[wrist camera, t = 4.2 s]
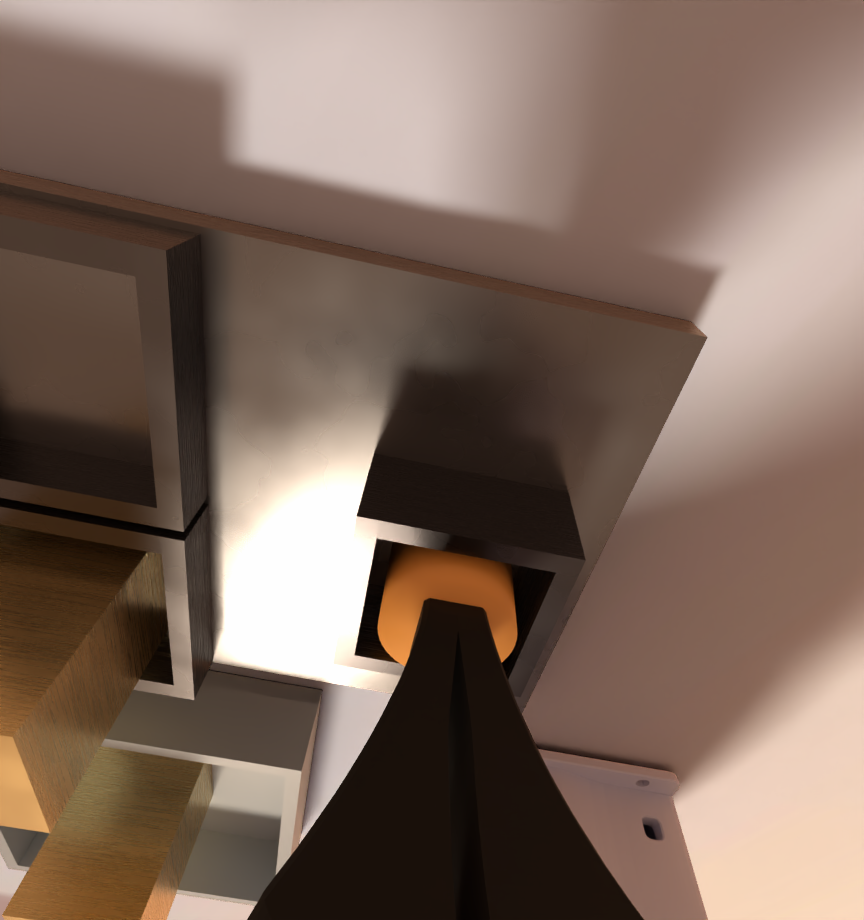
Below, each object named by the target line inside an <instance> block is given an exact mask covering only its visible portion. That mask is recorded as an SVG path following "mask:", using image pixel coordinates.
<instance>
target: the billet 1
mask: <svg viewBox="0 0 864 920" xmlns="http://www.w3.org/2000/svg"><path fill="white" fill-rule="evenodd" d="M168 629H169V628H168V618H167V607H166V597H165V586H164V576H163V565H162V554H157V553H152V552H147V551H141V550H136V549H130V548H125V547H119V546H114V545H109V544H103V543H98V542H92V541H87V540H82V539H76V538H71V537H65V536H60V535H55V534H49V533H44V532H38V531H33V530H28V529H22V528H17V527H11V526H6V525H1V524H0V826H7V827H13V828H19V829H26V830H32V831H39V832H45V833H51V831H52V829H53V827H54V826H55V824H56V822H57V821H58V819H59V817H60V815H61V814H62V812H63V810H64V808H65V807H66V805H67V803H68V802H69V800H70V798H71V796H72V795H73V793H74V791H75V789H76V788H77V786H78V784H79V783H80V781H81V779H82V777H83V776H84V774H85V772H86V770H87V769H88V767H89V765H90V764H91V762H92V760H93V758H94V757H95V755H96V753H97V751H98V750H99V748H100V746H101V745H102V743H103V741H104V739H105V738H106V736H107V734H108V732H109V731H110V729H111V727H112V726H113V724H114V722H115V720H116V719H117V717H118V715H119V713H120V712H121V710H122V708H123V707H124V705H125V703H126V701H127V700H128V698H129V696H130V694H131V693H132V691H133V689H134V688H135V686H136V684H137V682H138V681H139V679H140V677H141V676H142V674H143V672H144V670H145V669H146V667H147V665H148V663H149V662H150V660H151V658H152V657H153V655H154V653H155V651H156V650H157V648H158V646H159V644H160V643H161V641H162V639H163V638H164V636H165V634H166V632H167V631H168Z"/></svg>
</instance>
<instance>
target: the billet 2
mask: <svg viewBox="0 0 864 920" xmlns="http://www.w3.org/2000/svg"><path fill="white" fill-rule="evenodd" d="M212 796H213V780H212V764H207V763H201V762H195V761H189V760H183V759H176V758H170V757H164V756H158V755H152V754H146V753H140V752H134V751H128V750H122V749H116V748H110V747H104V746H100V748H99V750H98V751H97V753H96V755H95V757H94V758H93V760H92V762H91V764H90V765H89V767H88V769H87V770H86V772H85V774H84V776H83V777H82V779H81V781H80V783H79V784H78V786H77V788H76V789H75V791H74V793H73V795H72V796H71V798H70V800H69V802H68V803H67V805H66V807H65V808H64V810H63V812H62V814H61V815H60V817H59V819H58V821H57V822H56V824H55V826H54V827H53V829H52V831H51V833H49V835H48V837H47V839H46V840H45V842H44V844H43V846H42V847H41V849H40V851H39V852H38V854H37V856H36V858H35V859H34V861H33V863H32V865H31V866H30V868H29V870H28V871H27V873H26V875H25V877H24V878H23V880H22V882H21V884H20V885H19V887H18V889H17V890H16V892H15V894H14V896H13V897H12V899H11V901H10V902H9V904H8V906H7V908H6V910H5V911H4V913H3V915H2V916H3V918H4V919H5V920H166V919H167V917H168V914H169V911H170V909H171V906H172V903H173V901H174V898H175V895H176V893H177V890H178V887H179V885H180V882H181V879H182V877H183V874H184V871H185V869H186V866H187V863H188V861H189V858H190V855H191V853H192V850H193V847H194V845H195V842H196V839H197V836H198V834H199V831H200V828H201V826H202V823H203V820H204V818H205V815H206V812H207V810H208V807H209V804H210V802H211V799H212Z"/></svg>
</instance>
